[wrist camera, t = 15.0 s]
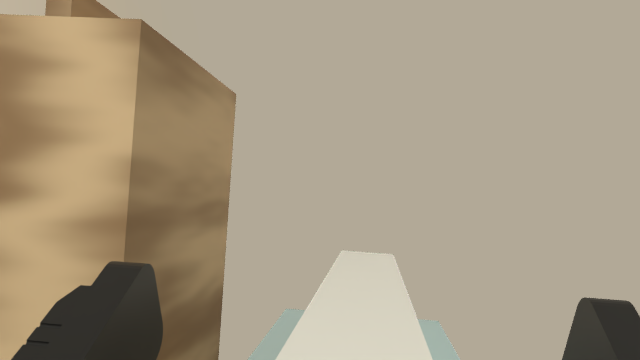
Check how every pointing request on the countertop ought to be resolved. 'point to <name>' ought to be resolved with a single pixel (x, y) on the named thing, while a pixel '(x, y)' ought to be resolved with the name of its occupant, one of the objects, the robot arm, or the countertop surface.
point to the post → (282, 329)
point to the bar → (359, 315)
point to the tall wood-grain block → (110, 170)
